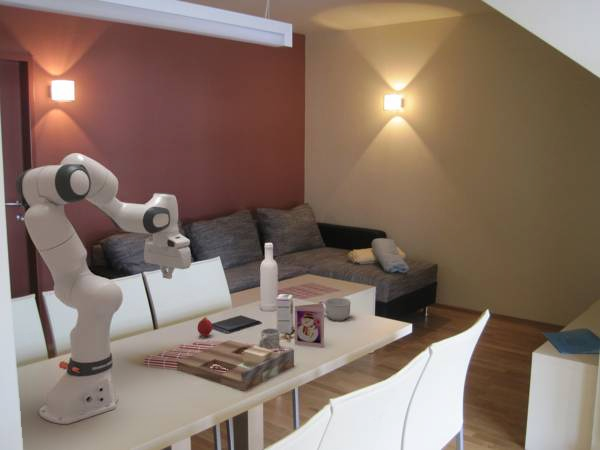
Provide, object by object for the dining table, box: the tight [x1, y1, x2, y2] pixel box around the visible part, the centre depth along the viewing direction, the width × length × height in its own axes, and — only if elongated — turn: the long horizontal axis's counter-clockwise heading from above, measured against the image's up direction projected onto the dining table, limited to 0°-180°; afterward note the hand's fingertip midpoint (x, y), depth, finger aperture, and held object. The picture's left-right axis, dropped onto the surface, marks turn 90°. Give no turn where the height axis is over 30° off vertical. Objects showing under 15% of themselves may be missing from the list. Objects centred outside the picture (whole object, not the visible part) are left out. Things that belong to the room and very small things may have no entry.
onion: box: [197, 316, 213, 338], centre depth 247 cm, size 6×6×8 cm
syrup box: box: [276, 293, 294, 334], centre depth 253 cm, size 6×6×14 cm
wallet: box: [211, 314, 263, 335], centre depth 262 cm, size 20×2×15 cm
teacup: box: [318, 296, 352, 322], centre depth 271 cm, size 14×11×8 cm
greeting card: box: [294, 302, 325, 348], centre depth 239 cm, size 11×7×15 cm, turn 73°
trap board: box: [176, 339, 295, 392], centre depth 216 cm, size 26×30×6 cm
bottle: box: [259, 242, 279, 312], centre depth 282 cm, size 8×8×30 cm
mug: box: [259, 328, 280, 349], centre depth 233 cm, size 10×7×7 cm, turn 149°
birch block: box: [242, 345, 275, 367], centre depth 210 cm, size 6×8×5 cm
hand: (167, 278), depth 220 cm, fingers closed
